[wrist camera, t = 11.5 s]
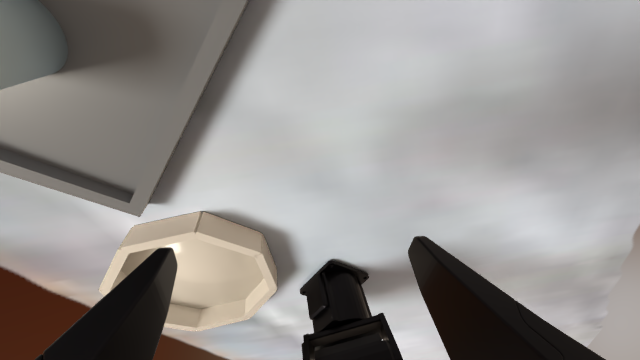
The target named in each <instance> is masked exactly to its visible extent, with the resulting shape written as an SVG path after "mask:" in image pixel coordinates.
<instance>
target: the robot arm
mask: <svg viewBox="0 0 640 360" xmlns="http://www.w3.org/2000/svg"><path fill="white" fill-rule="evenodd" d="M408 255H409V259H410V262H411V265H412V268H413V271H414V274H415V277H416V280H417V283H418V286H419V289H420V291H421V294H422V296H423V299H424V301H425V303H426V305H427V308H428V310H429V312H430V314H431V317H432V319H433V321H434V323H435V326H436V328H437V330H438V333H439V335H440V337H441V339H442V342H443V344H444V346H445V348H446V351H447V353H448V355H449V357H450V360H605V359H604V358H602V357H600V356H599V355H597V354H596V353H594V352H593V351H591V350H590V349H588V348H587V347H585V346H583V345H582V344H580V343H579V342H577V341H576V340H574V339H572V338H571V337H569V336H568V335H566V334H564V333H563V332H561V331H560V330H558V329H557V328H555V327H554V326H552V325H551V324H549V323H548V322H546V321H545V320H543V319H542V318H540V317H539V316H537V315H536V314H534V313H533V312H531V311H530V310H529V309H527V308H526V307H524V306H523V305H522V304H520V303H519V302H517V301H515V300H514V299H513V298H512V297H510V296H509V295H507V294H506V293H505V292H503V291H502V290H500V289H499V288H497V287H496V286H495V285H493V284H492V283H490V282H489V281H488V280H486V279H485V278H483V277H482V276H481V275H479V274H478V273H476V272H475V271H473V270H472V269H471V268H469V267H468V266H466V265H465V264H464V263H462V262H461V261H459V260H458V259H457V258H455V257H454V256H452V255H451V254H450V253H448V252H447V251H445V250H444V249H442V248H441V247H440V246H438V245H437V244H435V243H434V242H433V241H431V240H430V239H428V238H427V237H425V236H416V237H415V238H414V239H413V241H412V243H411V245H410V247H409V250H408ZM177 267H178V265H177V260H176V257H175V253H174V250H173V248H171V247H165V248H158V249H156V250H155V251H154V252H153V253H152V254H151V255H150V256H149V257H148V258H146V259H145V260H144V261H143V262H142V263H141V264H140V265H139V266H138V267H137V268H135V269H134V270H133V271H132V272H131V273H130V274H129V275H128V276H127V277H125V278H124V279H123V280H122V281H121V282H120V283H119V284H118V285H117V286H116V287H114V288H113V289H112V290H111V291H110V292H109V293H108V294H107V295H106V296H104V297H103V298H102V299H101V300H100V301H99V302H98V303H97V304H96V305H95V306H93V307H92V308H91V309H90V310H89V311H88V312H87V313H86V314H85V315H84V316H82V317H81V318H80V319H79V320H78V321H77V322H76V323H75V324H74V325H72V326H71V327H70V328H69V329H68V330H67V331H66V332H65V333H64V334H63V335H61V336H60V337H59V338H58V339H57V340H56V341H55V342H54V343H53V344H52V345H51V346H49V347H48V348H47V349H46V350H45V351H44V352H43V355H39V356H38V357H37V358H36V359H35V360H153V356H154V354H155V351H156V348H157V345H158V342H159V339H160V336H161V333H162V330H163V327H164V324H165V321H166V318H167V314H168V310H169V306H170V301H171V296H172V292H173V287H174V282H175V278H176V273H177ZM368 278H369V275H368V273H366V272H363V271H360V270H358V269H355V268H352V267H349V266H347V265H344V264H341V263H338V262H336V261H328V262H327V263H326V264H325V265H324V266H323V267H322V268H321V269H320V270H319V271H318V272H317V273H316V274H315V275H314V276H313V277H312V278H311V279H310V280H309V281H308V282H307V283H306V284H305V285H304V286H303V287H302V288H301V289H300V294H302V295H305V296H307V302H308V310H309V317H310V319H311V320H312V321H313V328H314V333H313V334H305V335H304V343H302V353H303V360H403V359H402V356H401V353H400V351H399V348H398V346H397V344H396V341H395V339H394V337H393V335H392V332H391V330H390V328H389V325H388V323H387V321H386V318H385V316H384V314H383V313H379V314H378V315H376V316H372V315H371V312H370V309H369V306H368V303H367V300H366V297H365V294H364V291H363V288H362V284H363V283H364V282H365V281H366V280H367V279H368ZM382 339H383V341H382Z"/></svg>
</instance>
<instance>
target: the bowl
mask: <svg viewBox="0 0 640 360" xmlns="http://www.w3.org/2000/svg"><path fill="white" fill-rule="evenodd" d="M165 247H171V248H173V250H174V253H175V257H176V260H177V265H178V267H177V273H176V278H175V282H174V287H173V292H172V296H171V301H170V306H169V310H168V314H167V318H166V321H165V324H164V327H167V328H174V329H181V330H188V331H195V332H196V330H197V331H202V330H206V329H210V328H214V327H218V326H222V325H227V324H231V323H235V322H239V321H243V320H247V319H249V318H251V317H252V316H253V315H254V314H255V313H256V312H257V311H258V310H259V309H260V308H261V306H262V305H263V304H264V303H265V302H266V301H267V300H268V299H269V298H270V297H271V296H272V295H273V294H274V293H275V292H276V291H277V268H276V266H275V263H274V261H273V258H272V256H271V253H270V250H269V248H268V245H267V243H266V240H265V238H264V235H263V234H262V233H261V232H258V231H255V230H253V229H250V228H247V227H244V226H242V225H239V224H236V223H233V222H231V221H228V220H225V219H222V218H220V217H217V216H214V215H212V214H209V213H206V212H203V213H201V211H200V212H195V213H190V214H186V215H181V216H176V217H172V218H167V219H163V220H158V221H153V222H149V223H144V224H139V225H135V226H134V227H132V228H131V230H130V231H129V233H128V234H127V236H126V237H125V239H124V241H123V242H122V244H121V245H120V247H119V249H118V250H117V253H116V255H115V257H114V259H113V261H112V263H111V265H110V267H109V269H108V271H107V273H106V275H105V277H104V280H103V282H102V284H101V286H100V288H99V290H100V292H101V293H102V294H103V295H104V296H106V295H107V294H108V293H109V292H110V291H111V290H112V289H113V288H114V287H116V286H117V285H118V284H119V283H120V282H121V281H122V280H123V279H124V278H125V277H127V276H128V275H129V274H130V273H131V272H132V271H133V270H134V269H135V268H137V267H138V266H139V265H140V264H141V263H142V262H143V261H144V260H145V259H146V258H148V257H149V256H150V255H151V254H152V253H153V252H154V251H155V250H156V249H158V248H165Z"/></svg>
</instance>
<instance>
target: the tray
mask: <svg viewBox="0 0 640 360" xmlns="http://www.w3.org/2000/svg"><path fill="white" fill-rule="evenodd" d="M38 1H40V2H41V3H42V4H43V5H44V6H45V7H46V8H47V9H48V10H49V11H50V13H51V14H52V15H53V16H54V17H55V19H56V20H57V22H58V23H59V25H60V27H61V28H62V30H63V33H64V35H65V38H66V41H67V46H68V56H67V60H66V63H65V64H64V66H63V67H62V68H61V69H60V70H59V71H57V72H56V73H53V74H51V75H47V76H44V77H41V78H38V79H34V80H31V81H28V82H24V83H21V84H18V85H15V86H11V87H8V88H5V89H2V90H0V172H1V173H4V174H7V175H10V176H13V177H16V178H20V179H23V180H26V181H29V182H32V183H35V184H38V185H41V186H45V187H48V188H51V189H54V190H57V191H60V192H63V193H66V194H70V195H73V196H76V197H79V198H82V199H85V200H88V201H91V202H95V203H98V204H101V205H104V206H107V207H110V208H113V209H117V210H120V211H123V212H126V213H129V214H132V215H135V216H138V217H140V216H141V214H142V213H143V211H144V210H145V208H146V206H147V205H148V203H149V201H150V199H151V197H152V195H153V193H154V191H155V189H156V187H157V185H158V183H159V181H160V179H161V177H162V175H163V173H164V171H165V169H166V167H167V165H168V163H169V161H170V159H171V157H172V155H173V153H174V151H175V149H176V147H177V145H178V143H179V141H180V139H181V137H182V135H183V133H184V131H185V129H186V127H187V125H188V123H189V121H190V119H191V117H192V115H193V113H194V111H195V109H196V107H197V105H198V103H199V101H200V99H201V97H202V95H203V93H204V91H205V89H206V87H207V85H208V83H209V81H210V79H211V76H212V74H213V72H214V70H215V68H216V66H217V64H218V62H219V60H220V58H221V56H222V54H223V52H224V50H225V48H226V46H227V44H228V42H229V40H230V38H231V36H232V34H233V32H234V30H235V28H236V26H237V24H238V22H239V20H240V18H241V16H242V14H243V12H244V10H245V8H246V6H247V4H248V2H249V0H38Z"/></svg>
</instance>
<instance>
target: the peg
mask: <svg viewBox="0 0 640 360" xmlns="http://www.w3.org/2000/svg"><path fill="white" fill-rule="evenodd" d="M67 56H68V46H67V41H66V38H65V35H64V33H63V30H62V28H61V27H60V25H59V23H58V22H57V20H56V19H55V17H54V16H53V15H52V14H51V13H50V11H49V10H48V9H47V8H46V7H45V6H44V5H43V4H42V3H41V2H40V1H38V0H0V90H2V89H5V88H8V87H11V86H15V85H18V84H21V83H24V82H28V81H31V80H34V79H38V78H41V77H44V76H47V75H51V74H53V73H56V72H57V71H59V70H60V69H61V68H62V67H63V66H64V64H65V63H66V60H67Z"/></svg>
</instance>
